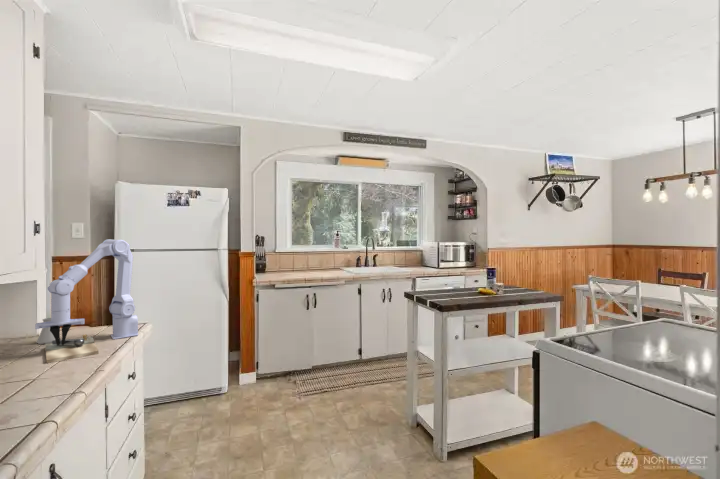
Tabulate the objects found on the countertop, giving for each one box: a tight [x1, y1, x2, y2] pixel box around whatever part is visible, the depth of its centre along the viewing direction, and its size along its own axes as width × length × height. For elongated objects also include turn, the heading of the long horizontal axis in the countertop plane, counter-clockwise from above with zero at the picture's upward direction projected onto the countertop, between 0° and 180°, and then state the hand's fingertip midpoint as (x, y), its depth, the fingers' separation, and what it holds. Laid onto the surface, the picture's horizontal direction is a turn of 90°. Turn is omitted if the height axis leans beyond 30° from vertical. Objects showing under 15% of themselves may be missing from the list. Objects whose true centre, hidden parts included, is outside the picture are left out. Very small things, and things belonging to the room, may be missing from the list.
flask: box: [35, 317, 55, 345], centre depth 149 cm, size 7×7×10 cm
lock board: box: [44, 334, 99, 364], centre depth 138 cm, size 15×22×4 cm
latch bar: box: [52, 338, 84, 345], centre depth 140 cm, size 11×3×2 cm, turn 95°
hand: (60, 344), depth 137 cm, fingers closed
